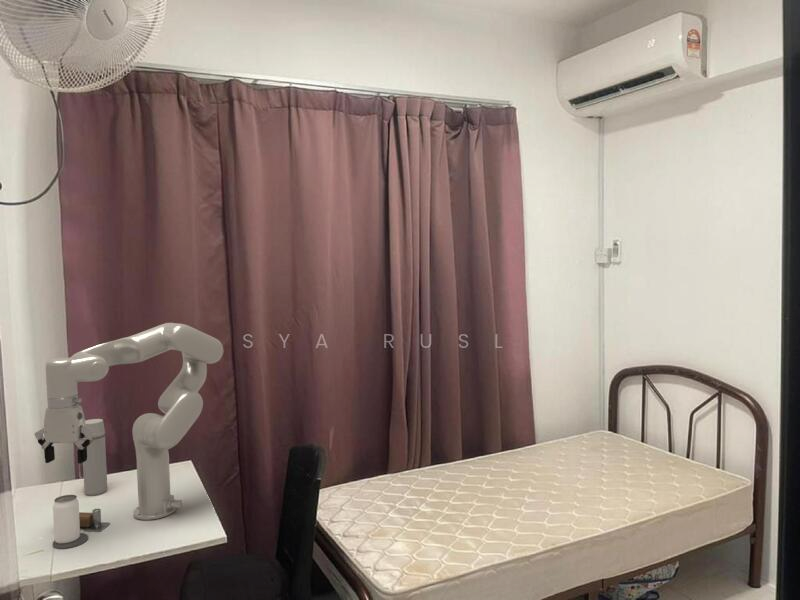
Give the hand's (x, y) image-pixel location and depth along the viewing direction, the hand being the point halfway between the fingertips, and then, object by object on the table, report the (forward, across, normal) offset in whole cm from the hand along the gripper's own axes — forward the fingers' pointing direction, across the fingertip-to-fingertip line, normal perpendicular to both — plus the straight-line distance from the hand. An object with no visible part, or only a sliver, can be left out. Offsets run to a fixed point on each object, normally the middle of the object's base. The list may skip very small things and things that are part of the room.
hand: (66, 461), depth 172 cm
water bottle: (+24, +16, -36) cm, 46 cm away
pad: (+23, 0, 0) cm, 23 cm away
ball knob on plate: (+23, -2, -9) cm, 25 cm away
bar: (+22, +4, -9) cm, 25 cm away
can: (+23, +1, 0) cm, 23 cm away
